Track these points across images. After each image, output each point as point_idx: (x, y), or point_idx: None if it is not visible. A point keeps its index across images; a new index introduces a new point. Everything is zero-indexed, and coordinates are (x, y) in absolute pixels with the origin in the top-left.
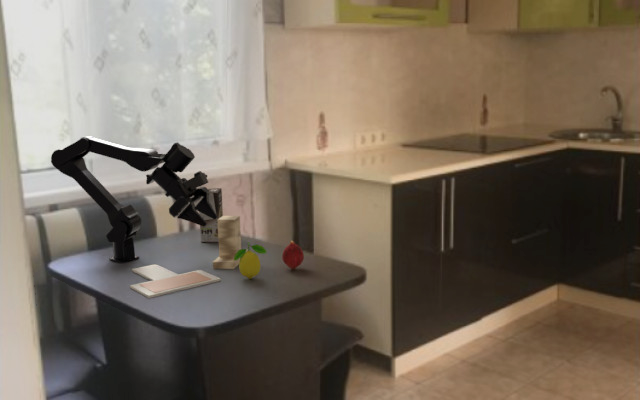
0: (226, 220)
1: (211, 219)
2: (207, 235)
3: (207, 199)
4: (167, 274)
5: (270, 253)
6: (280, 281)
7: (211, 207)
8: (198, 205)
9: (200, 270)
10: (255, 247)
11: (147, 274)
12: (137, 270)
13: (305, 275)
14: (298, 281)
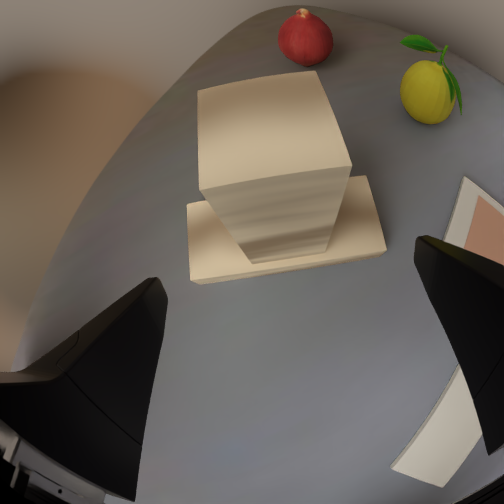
0: (331, 111)
1: None
2: None
3: (23, 377)
4: None
5: (167, 160)
6: (395, 68)
7: (92, 328)
8: (105, 471)
9: None
10: (427, 46)
11: None
12: (456, 464)
13: (338, 44)
14: (377, 47)
